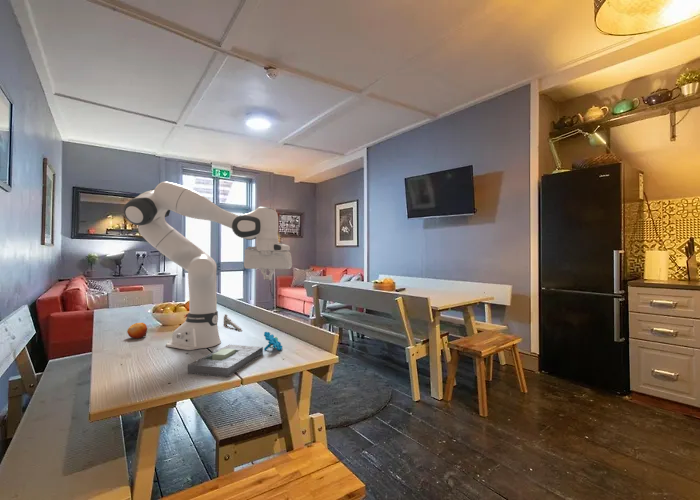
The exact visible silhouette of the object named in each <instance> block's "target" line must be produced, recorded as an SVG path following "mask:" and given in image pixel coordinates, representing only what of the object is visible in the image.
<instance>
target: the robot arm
mask: <svg viewBox="0 0 700 500" xmlns="http://www.w3.org/2000/svg"><path fill="white" fill-rule="evenodd" d="M122 209H123V215H124V217H125V218H126V220H127V221H128V222H129V223H131V224H132V225H135V226H138V230H137V231H138V233H139V234H140V236H141V237H142V238H143V239H144V240H145V241H146V242H147V243H148V244H149V245H151V246H152V247H153V248H154V249H156V251H158V252H159V253H160V254H162V255H163V256H165V257H166V258H167V259H169V261H171V262H173V263H175V264H176V265H178V266H179V267H181V268H182V269H184V270H185V271H186V272H187V278H188V280H187V281H188V294H189V295H188V296H189V298H188V299H189V300H188V301H189V303H188V304H189V311H188V313H186V314H184V315H183V318H186V319H185V322H183V323H182V324H181V325H179V326H178V327H177V328H176V329H174V331H173V332H172V337H171V340H170V341H168V342H166V344H165V347H168V348H175V349H180V350H185V351H193V350H197V349H198V350H199V349H206V348H211V347H215V346H218V345H220V344H221V343H222V340H221V337H220V334H219V328H218V327H219V326H218V320H219V311H218V307H217V303H218V302H217V301H218V298H217V294H218V293H217V288H218V287H217V268H218V267H217V262H216V261H215V260H214V258H213V257H211V256H210V255H209V254H208V253H206V252H205V251H203V250H202V248H199V246H197V245H196V244H195V243H193V242H192V241H191V240H189V238H187V237H185V236H184V235H183V234H182V233H180V231H178V230H177V229H176V228H174V227H173V226H171V225H170V224H169V223H168V222H167V221H166V217H169V216H170V213H171V211H172V212H174V213H176V214H178V215H181V216H183V217H187V218H191V219H194V220H195V219H197V220H204V221H209V222H213V223H216V224H219V225H223V226H224V227H227V228H230V229H231V230H232V232H233V233H234V235H235V236H237V237H239V238H241V239H246V240H248V241H254V240H256V246H247V247H246V248H245V249H244V258H243V259H244V260H243V267H244V268H245V269H246V270H247V269H249V270H260V273H261V274H262V276H263V280H264V281H271V280H272V281H273V276H274V274H275V270H290V269H291V268H292V267H293V260H292V259H293V258H292V253H291V252H290V250H291V249H290V248H291V246H290V245H288V244H284V243H282V242H279V236H278V235H279V234H278V233H279V216H278V213H277V211H276V210H275V209H274V208H271V207H268V206H267V207H266V206H258V207H257V208H256V209H254V210H252V211H250V212H248V213H244V214H241V215H237V214H235V213H233V212H230V211H228V210H226V209H223V208H221V207H220V206H218V205H217V204H215V203H214V202H212V201H211V200H210V199H209V198H207V197H205V195H202V194H201V193H199V192H198V191H196V190H194V189H192V188H189V187H187V186H184V185H182V184H178V183H175V182H170V181H161V182H160V183H158V184H157V185H156V187H155V188H152V189H150V190H147V191H144V192H142V193H140V194H139V195H137V196H136V197H134V198H132V199H130V200H129V201H127V203H125V204H124V206H123V208H122ZM267 270H268V271H269V274H267Z"/></svg>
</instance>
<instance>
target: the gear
mask: <svg viewBox="0 0 700 500" xmlns="http://www.w3.org/2000/svg"><path fill="white" fill-rule="evenodd" d="M263 336H264V339H265V341H267V342H268V344H267V345H266V346H265V347H263V351H267V350H268V349H269V348H271V347H272V348H274V349H276V350H277V351H282V350H283V345H282V342H280V341H279V339H278V337H277V336H276V337H275V336H274V334H271V332H269V331H265V332H264V334H263Z"/></svg>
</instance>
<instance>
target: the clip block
mask: <svg viewBox="0 0 700 500" xmlns="http://www.w3.org/2000/svg"><path fill="white" fill-rule="evenodd" d="M234 353H236V349H225V348H224V349H222V350H220V351H218V352H216V353H214V354H212V360H219V361H221V360H223V359H225V358H227V357H229V356H231V355H232V354H234Z"/></svg>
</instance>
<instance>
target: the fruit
mask: <svg viewBox="0 0 700 500" xmlns="http://www.w3.org/2000/svg"><path fill="white" fill-rule="evenodd" d="M126 333H127V335H128V336H129V337H130V338H131V339H135V340H138V339H142V338H144V337H147V333H148V327H147V324H145V323H144V322H136V323H134V324H131V325H130V326H128V328H127V330H126Z"/></svg>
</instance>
